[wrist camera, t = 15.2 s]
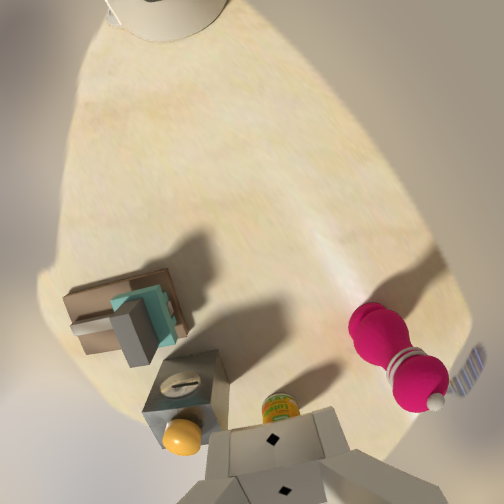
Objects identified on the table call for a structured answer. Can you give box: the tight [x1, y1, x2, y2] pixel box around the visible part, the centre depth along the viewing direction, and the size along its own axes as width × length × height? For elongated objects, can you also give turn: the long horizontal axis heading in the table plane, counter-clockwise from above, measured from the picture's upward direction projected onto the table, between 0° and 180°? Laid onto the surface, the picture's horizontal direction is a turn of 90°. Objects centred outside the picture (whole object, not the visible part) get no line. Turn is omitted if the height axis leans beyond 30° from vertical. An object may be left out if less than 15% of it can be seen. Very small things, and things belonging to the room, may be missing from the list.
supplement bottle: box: [262, 393, 300, 424], centre depth 40 cm, size 5×5×10 cm
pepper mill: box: [348, 303, 449, 413], centre depth 33 cm, size 7×7×20 cm
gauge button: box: [163, 419, 202, 456], centre depth 30 cm, size 4×4×2 cm
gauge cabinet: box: [142, 350, 230, 449], centre depth 37 cm, size 7×8×12 cm
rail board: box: [63, 268, 188, 355], centre depth 40 cm, size 9×16×3 cm, turn 104°
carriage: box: [109, 284, 178, 368], centre depth 35 cm, size 7×6×8 cm
